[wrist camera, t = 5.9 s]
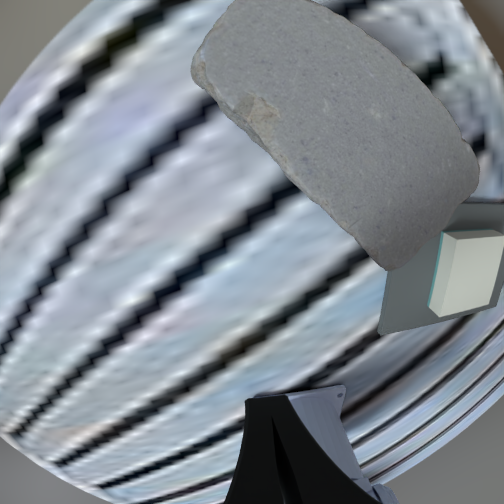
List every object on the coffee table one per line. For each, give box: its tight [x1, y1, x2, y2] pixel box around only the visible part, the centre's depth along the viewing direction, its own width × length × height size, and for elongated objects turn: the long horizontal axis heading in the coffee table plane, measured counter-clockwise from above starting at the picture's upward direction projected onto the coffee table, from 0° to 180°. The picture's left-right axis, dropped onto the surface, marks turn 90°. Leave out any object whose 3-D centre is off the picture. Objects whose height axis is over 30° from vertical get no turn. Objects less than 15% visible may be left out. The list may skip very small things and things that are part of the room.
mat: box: [377, 202, 504, 335], centre depth 21 cm, size 10×14×1 cm
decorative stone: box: [191, 0, 480, 271], centre depth 14 cm, size 15×7×10 cm
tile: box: [427, 229, 504, 317], centre depth 20 cm, size 6×2×6 cm
